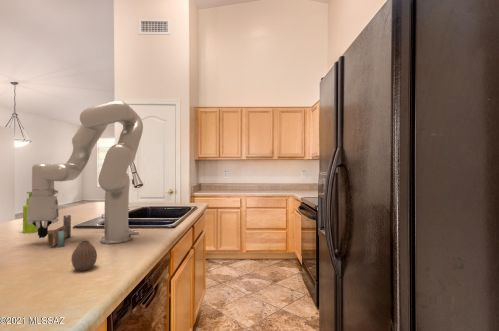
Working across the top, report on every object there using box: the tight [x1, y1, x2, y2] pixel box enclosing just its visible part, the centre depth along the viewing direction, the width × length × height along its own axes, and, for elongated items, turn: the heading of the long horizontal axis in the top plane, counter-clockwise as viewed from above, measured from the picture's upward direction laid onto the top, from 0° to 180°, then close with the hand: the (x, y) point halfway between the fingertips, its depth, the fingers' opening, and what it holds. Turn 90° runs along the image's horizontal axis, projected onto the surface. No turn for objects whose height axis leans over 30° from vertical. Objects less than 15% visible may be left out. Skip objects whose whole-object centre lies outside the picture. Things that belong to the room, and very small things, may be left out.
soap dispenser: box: [22, 191, 38, 234], centre depth 135 cm, size 6×7×20 cm
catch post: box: [57, 231, 65, 248], centre depth 111 cm, size 2×2×6 cm
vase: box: [71, 239, 98, 272], centre depth 87 cm, size 7×7×9 cm
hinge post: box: [62, 214, 72, 239], centre depth 125 cm, size 3×3×10 cm
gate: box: [47, 225, 67, 247], centre depth 115 cm, size 15×2×6 cm, turn 15°
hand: (42, 237), depth 114 cm, fingers closed
